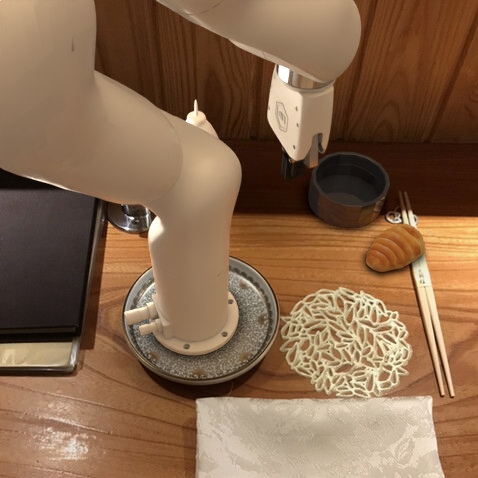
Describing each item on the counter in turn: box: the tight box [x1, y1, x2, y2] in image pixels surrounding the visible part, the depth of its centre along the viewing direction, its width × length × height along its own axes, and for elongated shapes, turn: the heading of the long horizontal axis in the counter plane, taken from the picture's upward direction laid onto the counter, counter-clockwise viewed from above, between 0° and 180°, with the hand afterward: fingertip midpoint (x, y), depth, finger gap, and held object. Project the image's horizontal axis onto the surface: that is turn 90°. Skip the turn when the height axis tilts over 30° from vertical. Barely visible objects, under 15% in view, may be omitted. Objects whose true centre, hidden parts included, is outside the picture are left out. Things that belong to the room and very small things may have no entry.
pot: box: [307, 151, 391, 229], centre depth 91 cm, size 12×12×5 cm
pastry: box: [365, 223, 427, 273], centre depth 86 cm, size 9×7×4 cm
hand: (292, 175), depth 84 cm, fingers closed
